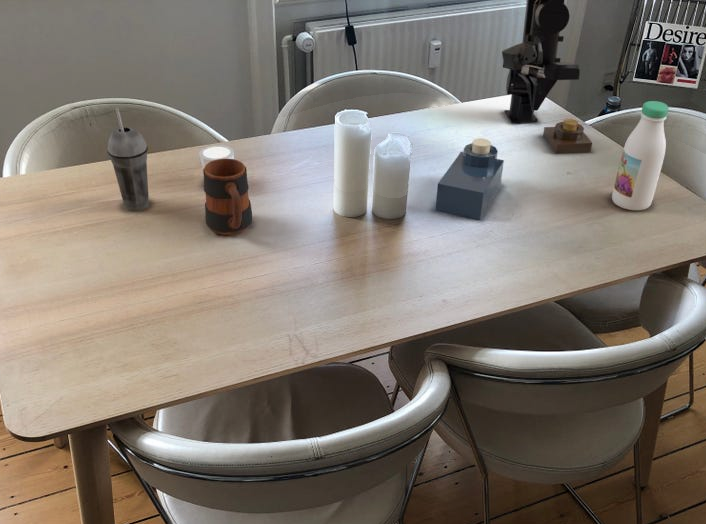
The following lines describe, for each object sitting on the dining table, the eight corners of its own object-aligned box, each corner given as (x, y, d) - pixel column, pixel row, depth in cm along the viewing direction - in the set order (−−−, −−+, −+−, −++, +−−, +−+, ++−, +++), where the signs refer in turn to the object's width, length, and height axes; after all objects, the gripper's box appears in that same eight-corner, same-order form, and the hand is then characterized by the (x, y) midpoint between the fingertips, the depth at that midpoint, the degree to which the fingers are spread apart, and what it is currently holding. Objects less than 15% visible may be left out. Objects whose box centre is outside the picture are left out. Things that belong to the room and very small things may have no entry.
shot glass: (243, 184, 168) (241, 152, 164) (217, 195, 164) (214, 163, 160) (221, 173, 172) (218, 141, 167) (195, 184, 168) (191, 152, 163)
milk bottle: (647, 194, 168) (673, 98, 155) (654, 212, 162) (682, 114, 149) (608, 191, 169) (631, 95, 156) (614, 210, 163) (638, 112, 150)
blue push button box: (459, 175, 173) (463, 139, 168) (501, 183, 170) (507, 147, 165) (435, 210, 161) (438, 172, 156) (479, 220, 159) (485, 182, 154)
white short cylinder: (474, 146, 166) (475, 136, 165) (491, 149, 165) (493, 140, 164) (469, 153, 164) (470, 144, 163) (486, 157, 163) (488, 147, 161)
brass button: (559, 126, 184) (561, 118, 183) (573, 125, 185) (575, 118, 184) (564, 132, 182) (566, 124, 181) (578, 131, 182) (580, 124, 181)
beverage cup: (162, 200, 163) (148, 101, 150) (143, 217, 157) (127, 116, 145) (130, 193, 164) (113, 95, 152) (110, 210, 159) (91, 110, 146)
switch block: (542, 136, 189) (545, 119, 186) (576, 134, 189) (579, 118, 187) (555, 153, 182) (558, 136, 179) (590, 152, 183) (594, 135, 180)
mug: (217, 249, 149) (212, 191, 142) (201, 217, 158) (195, 161, 150) (263, 240, 152) (260, 182, 144) (245, 210, 160) (241, 153, 153)
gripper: (485, 24, 169) (477, 103, 176) (539, 34, 154) (528, 120, 161) (530, 25, 174) (520, 102, 181) (588, 34, 159) (574, 118, 165)
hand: (534, 110), depth 172 cm, fingers closed
